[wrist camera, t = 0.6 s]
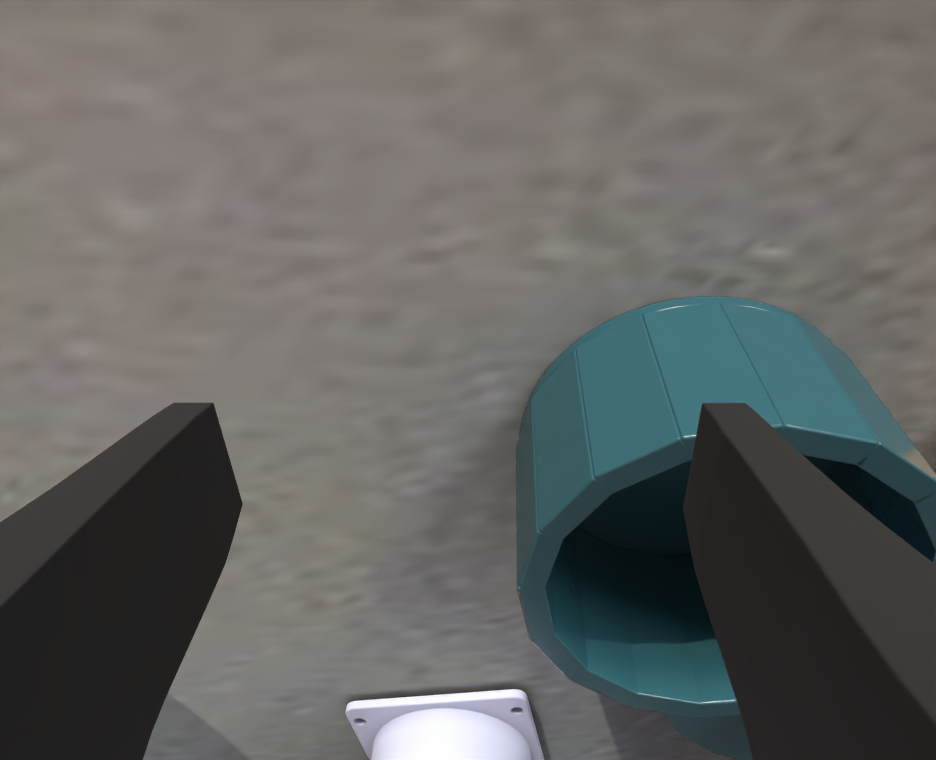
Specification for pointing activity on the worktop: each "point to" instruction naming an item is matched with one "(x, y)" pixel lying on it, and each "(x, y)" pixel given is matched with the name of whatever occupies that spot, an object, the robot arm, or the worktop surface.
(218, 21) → the worktop surface
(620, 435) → the pot
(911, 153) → the worktop surface
